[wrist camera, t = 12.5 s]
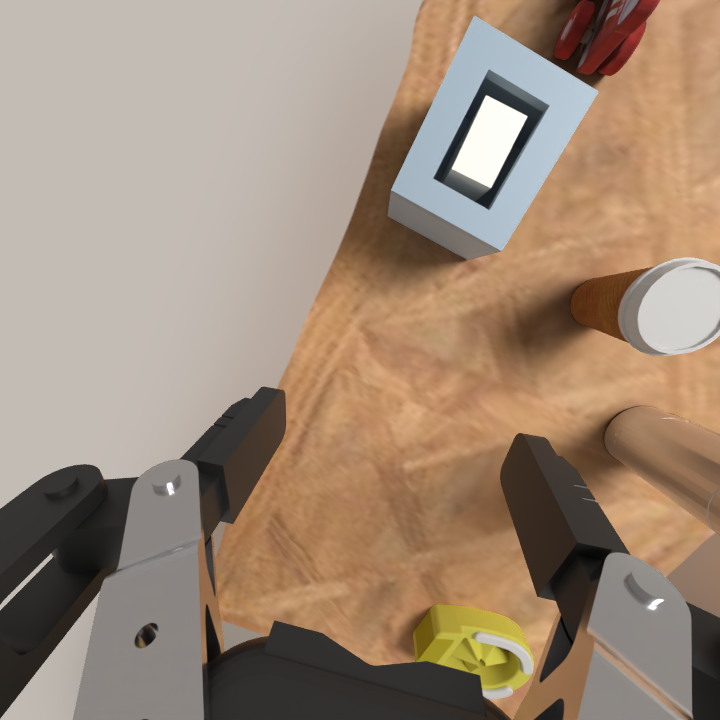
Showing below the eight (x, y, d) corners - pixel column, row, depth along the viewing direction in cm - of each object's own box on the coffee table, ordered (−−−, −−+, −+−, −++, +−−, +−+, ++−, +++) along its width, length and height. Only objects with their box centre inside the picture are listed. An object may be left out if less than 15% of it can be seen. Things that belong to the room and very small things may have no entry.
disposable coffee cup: (555, 273, 38) (632, 269, 26) (633, 257, 37) (750, 245, 25) (558, 343, 40) (631, 367, 29) (632, 329, 39) (738, 349, 28)
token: (460, 213, 36) (490, 188, 26) (431, 199, 36) (451, 168, 26) (485, 163, 34) (527, 116, 25) (455, 148, 34) (486, 95, 25)
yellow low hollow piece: (443, 588, 53) (449, 619, 48) (541, 630, 54) (557, 663, 50) (402, 644, 58) (405, 677, 53) (495, 681, 59) (505, 717, 54)
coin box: (444, 99, 34) (474, 15, 23) (531, 150, 35) (598, 91, 24) (387, 216, 38) (391, 189, 27) (467, 260, 38) (501, 251, 28)
